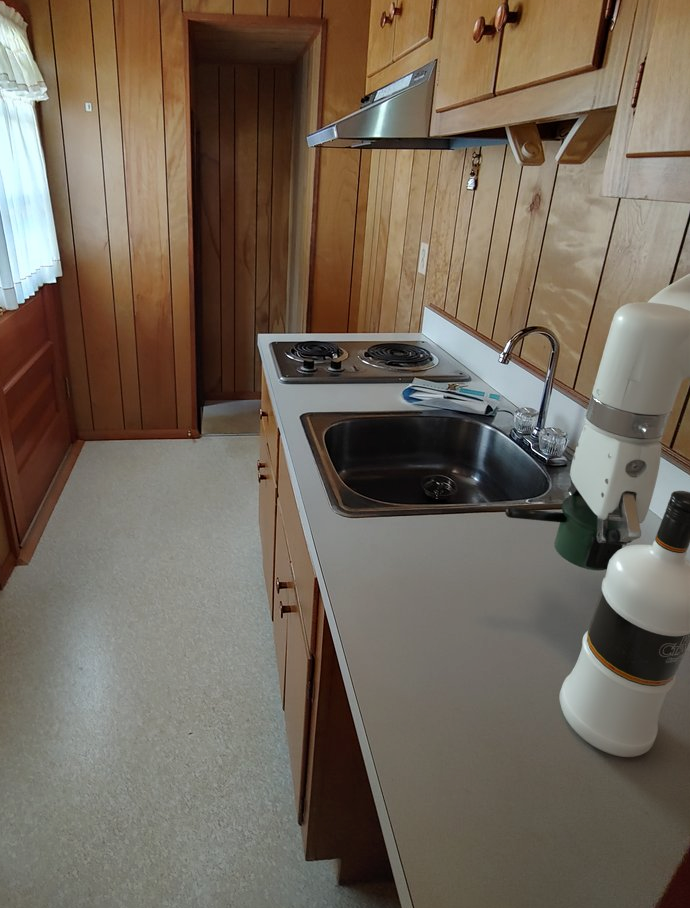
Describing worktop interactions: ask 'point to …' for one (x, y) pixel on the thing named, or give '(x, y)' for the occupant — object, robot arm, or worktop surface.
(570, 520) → the pot
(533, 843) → the worktop surface
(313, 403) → the worktop surface
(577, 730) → the vodka
